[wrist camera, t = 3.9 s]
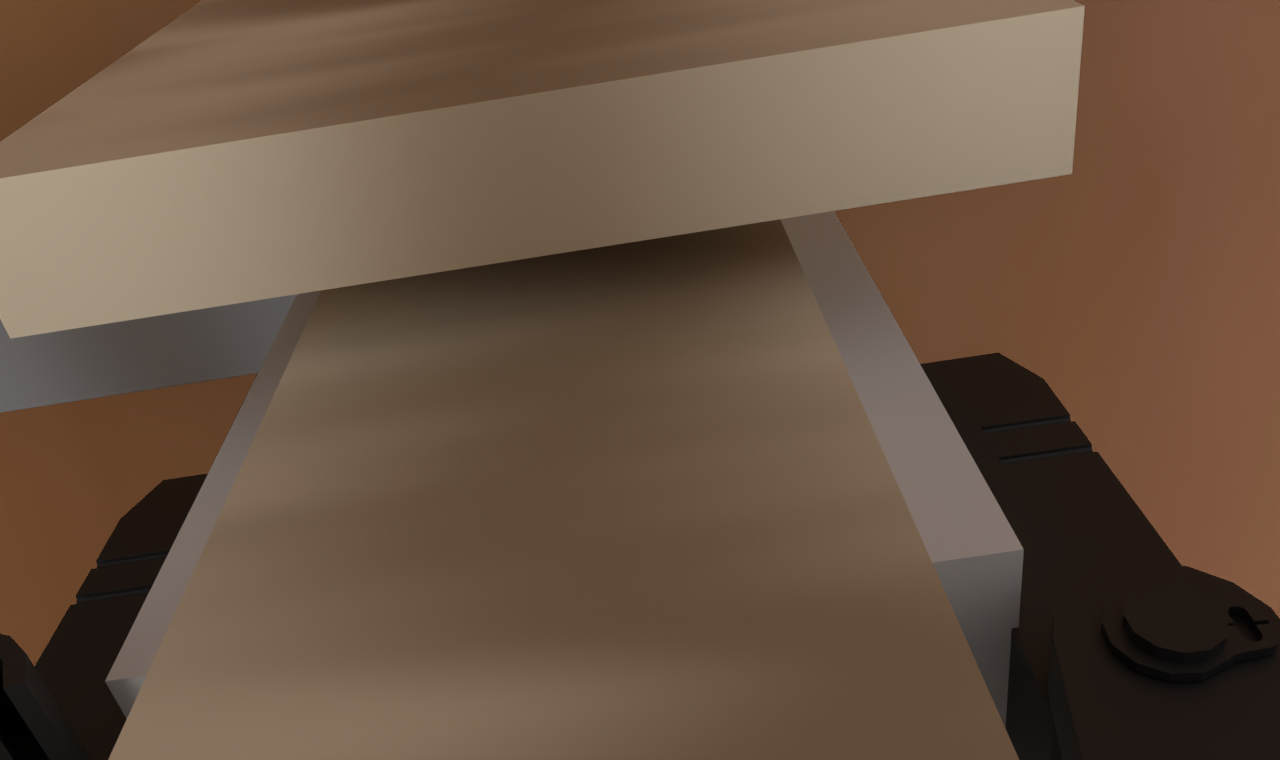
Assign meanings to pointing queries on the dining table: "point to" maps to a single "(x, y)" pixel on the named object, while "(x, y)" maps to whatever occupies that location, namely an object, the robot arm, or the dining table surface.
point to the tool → (527, 363)
